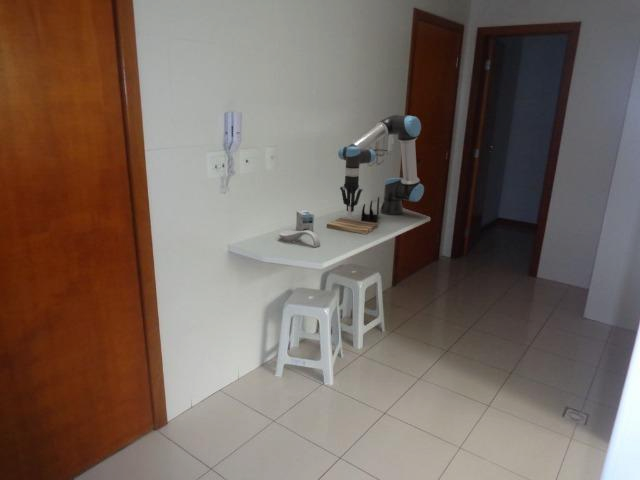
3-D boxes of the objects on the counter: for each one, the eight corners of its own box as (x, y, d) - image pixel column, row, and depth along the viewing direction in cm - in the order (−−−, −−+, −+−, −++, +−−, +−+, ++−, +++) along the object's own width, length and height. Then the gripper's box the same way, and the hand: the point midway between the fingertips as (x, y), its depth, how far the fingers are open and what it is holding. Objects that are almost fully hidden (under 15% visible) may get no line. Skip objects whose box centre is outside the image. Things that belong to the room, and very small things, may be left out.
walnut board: (340, 220, 285) (340, 217, 284) (377, 226, 275) (378, 223, 274) (334, 223, 277) (334, 220, 276) (372, 230, 267) (372, 226, 266)
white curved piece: (273, 240, 240) (274, 226, 238) (288, 235, 249) (288, 222, 247) (311, 250, 227) (311, 235, 225) (324, 244, 236) (325, 231, 234)
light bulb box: (313, 233, 255) (314, 214, 252) (301, 234, 252) (302, 214, 249) (306, 228, 264) (307, 209, 261) (295, 228, 262) (296, 210, 259)
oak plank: (333, 224, 276) (334, 220, 275) (372, 230, 266) (372, 227, 265) (326, 227, 267) (326, 223, 267) (365, 234, 257) (366, 230, 257)
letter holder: (378, 216, 300) (380, 195, 296) (377, 224, 281) (379, 201, 277) (362, 215, 301) (364, 194, 297) (360, 223, 282) (362, 200, 278)
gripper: (338, 175, 256) (336, 216, 263) (360, 177, 251) (358, 220, 258) (343, 173, 263) (341, 214, 270) (365, 175, 257) (362, 217, 264)
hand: (349, 216), depth 264 cm, fingers closed
